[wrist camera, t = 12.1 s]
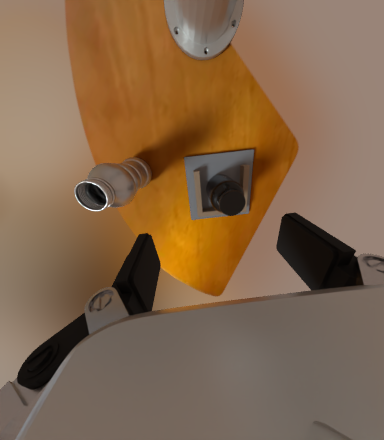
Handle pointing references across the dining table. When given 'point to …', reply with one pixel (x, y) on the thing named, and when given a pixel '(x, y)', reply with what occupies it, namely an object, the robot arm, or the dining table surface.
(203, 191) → the bottle stand
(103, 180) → the plastic bottle
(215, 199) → the supplement bottle
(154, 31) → the dining table surface
